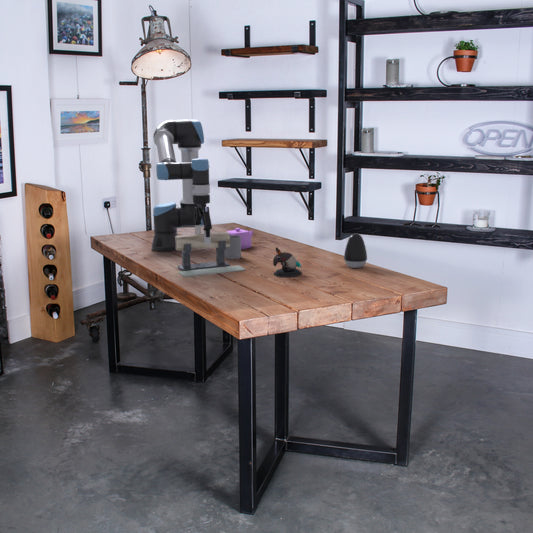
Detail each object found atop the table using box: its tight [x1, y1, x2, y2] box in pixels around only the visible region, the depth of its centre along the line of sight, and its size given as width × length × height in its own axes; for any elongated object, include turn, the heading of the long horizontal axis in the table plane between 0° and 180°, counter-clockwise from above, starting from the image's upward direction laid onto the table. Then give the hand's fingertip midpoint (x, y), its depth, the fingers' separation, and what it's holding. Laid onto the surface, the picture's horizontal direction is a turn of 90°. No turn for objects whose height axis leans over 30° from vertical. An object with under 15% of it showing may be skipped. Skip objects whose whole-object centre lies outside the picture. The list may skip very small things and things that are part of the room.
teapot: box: [225, 227, 254, 250], centre depth 331 cm, size 18×10×10 cm, turn 124°
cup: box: [224, 235, 242, 260], centre depth 308 cm, size 8×8×10 cm
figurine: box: [272, 247, 302, 278], centre depth 274 cm, size 11×12×12 cm
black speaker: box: [343, 233, 368, 269], centre depth 284 cm, size 10×10×15 cm
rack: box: [177, 241, 231, 271], centre depth 287 cm, size 8×22×12 cm, turn 113°
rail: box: [175, 231, 230, 252], centre depth 286 cm, size 4×24×6 cm, turn 113°
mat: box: [178, 265, 246, 278], centre depth 281 cm, size 8×28×1 cm, turn 113°
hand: (202, 242), depth 285 cm, fingers open, 13 cm apart
